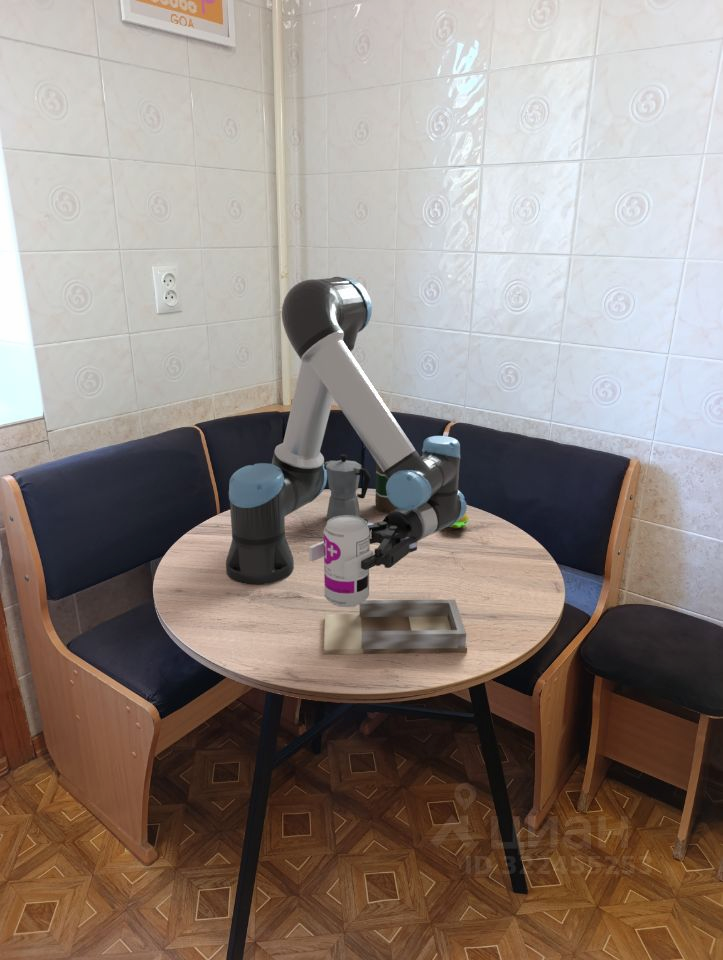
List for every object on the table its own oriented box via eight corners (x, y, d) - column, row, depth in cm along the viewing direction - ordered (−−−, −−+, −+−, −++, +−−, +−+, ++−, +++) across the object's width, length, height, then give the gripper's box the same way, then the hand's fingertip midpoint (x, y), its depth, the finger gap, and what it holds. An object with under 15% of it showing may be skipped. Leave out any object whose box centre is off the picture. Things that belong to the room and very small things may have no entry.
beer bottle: (408, 507, 185) (412, 424, 177) (390, 515, 180) (393, 430, 171) (387, 500, 190) (389, 419, 182) (369, 507, 185) (370, 424, 176)
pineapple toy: (468, 521, 176) (469, 503, 175) (467, 537, 167) (468, 517, 165) (442, 519, 177) (443, 501, 176) (440, 535, 168) (441, 515, 166)
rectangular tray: (324, 654, 119) (323, 635, 118) (325, 618, 131) (324, 600, 129) (467, 652, 120) (468, 633, 119) (455, 617, 132) (457, 599, 130)
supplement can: (334, 612, 117) (333, 535, 112) (318, 591, 124) (316, 518, 119) (375, 603, 120) (377, 528, 115) (358, 583, 127) (358, 511, 122)
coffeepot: (313, 517, 178) (312, 453, 172) (336, 507, 185) (336, 445, 179) (358, 532, 169) (358, 466, 163) (380, 521, 176) (381, 457, 170)
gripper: (451, 557, 126) (372, 602, 111) (370, 526, 140) (288, 562, 124) (453, 521, 124) (372, 561, 108) (370, 493, 137) (287, 525, 121)
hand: (327, 562), depth 116 cm, fingers closed on supplement can, 8 cm apart
